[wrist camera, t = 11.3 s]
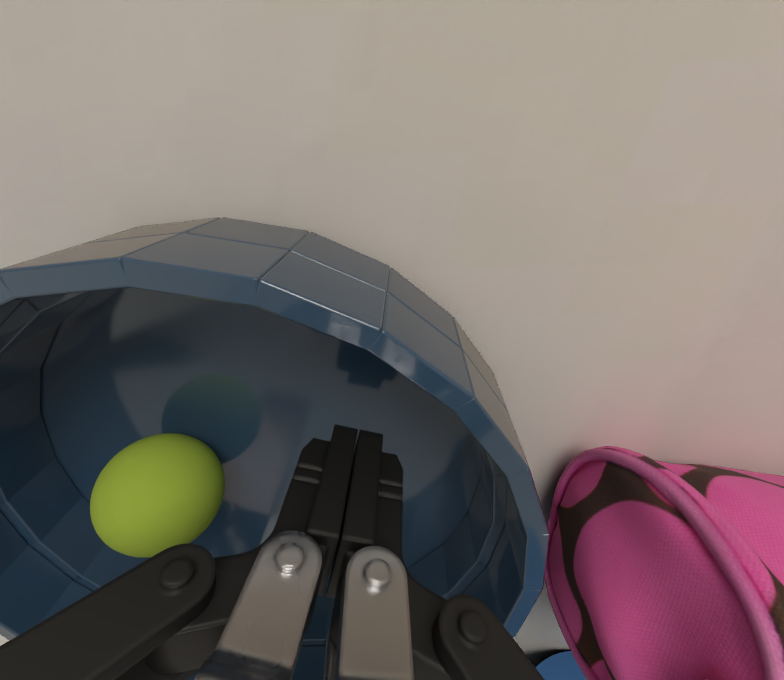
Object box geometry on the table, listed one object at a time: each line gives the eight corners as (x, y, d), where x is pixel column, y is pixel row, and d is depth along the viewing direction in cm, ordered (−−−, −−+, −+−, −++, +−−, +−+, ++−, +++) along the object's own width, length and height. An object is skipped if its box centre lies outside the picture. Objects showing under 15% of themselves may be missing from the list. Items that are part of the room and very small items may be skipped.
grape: (119, 441, 15) (29, 533, 11) (184, 393, 14) (107, 479, 10) (197, 499, 16) (139, 598, 13) (262, 460, 15) (218, 557, 12)
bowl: (-66, 408, 15) (-259, 516, 11) (274, 60, 10) (161, -13, 5) (269, 627, 22) (235, 748, 18) (585, 498, 16) (652, 629, 12)
